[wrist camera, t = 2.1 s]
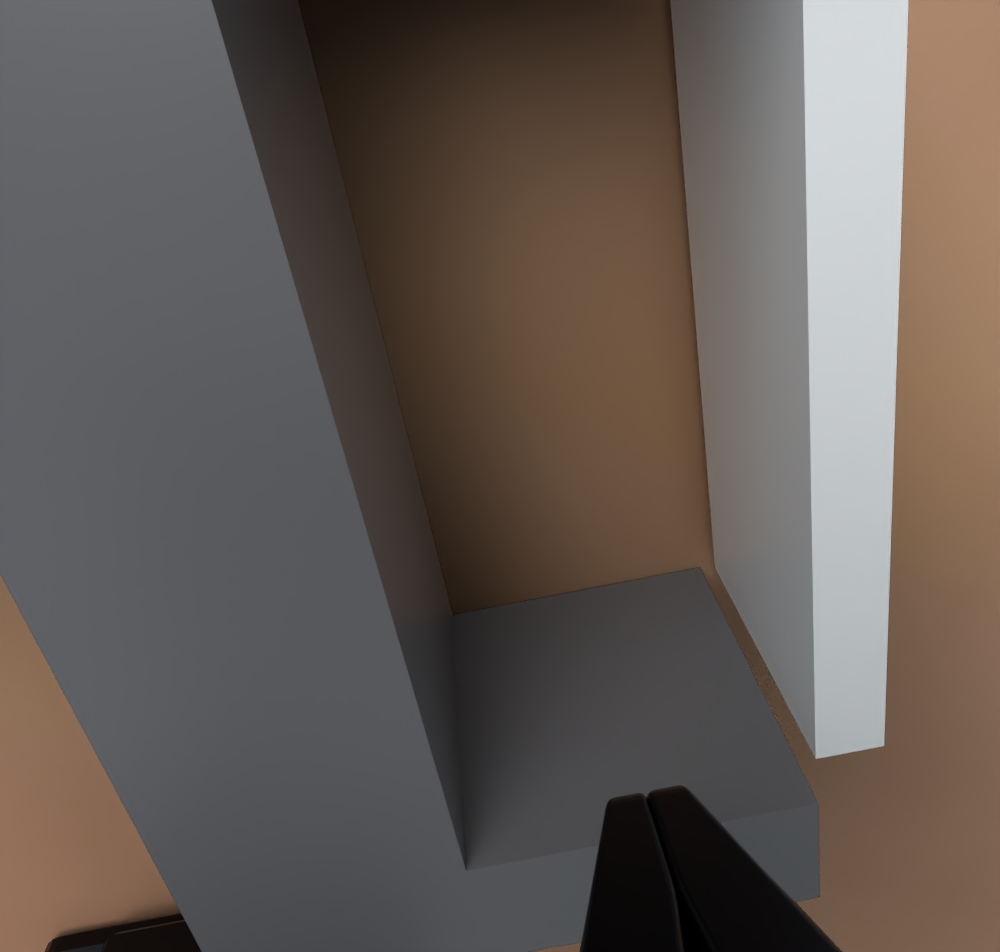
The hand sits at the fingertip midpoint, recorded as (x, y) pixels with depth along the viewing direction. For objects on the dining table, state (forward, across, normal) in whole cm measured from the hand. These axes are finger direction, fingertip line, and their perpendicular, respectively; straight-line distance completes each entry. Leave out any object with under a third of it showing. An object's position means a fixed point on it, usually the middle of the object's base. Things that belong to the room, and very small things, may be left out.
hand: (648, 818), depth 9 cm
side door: (+8, -3, -3) cm, 9 cm away
